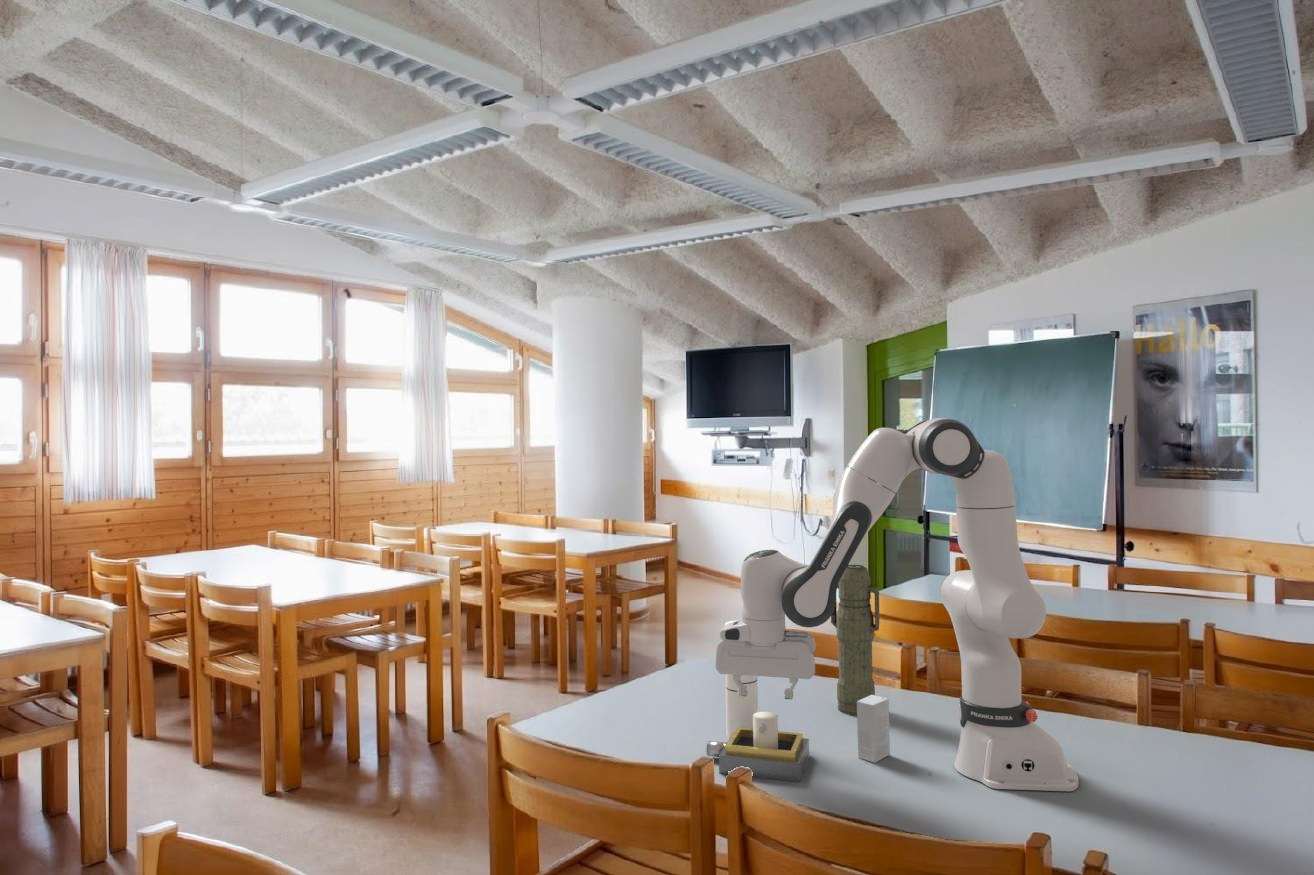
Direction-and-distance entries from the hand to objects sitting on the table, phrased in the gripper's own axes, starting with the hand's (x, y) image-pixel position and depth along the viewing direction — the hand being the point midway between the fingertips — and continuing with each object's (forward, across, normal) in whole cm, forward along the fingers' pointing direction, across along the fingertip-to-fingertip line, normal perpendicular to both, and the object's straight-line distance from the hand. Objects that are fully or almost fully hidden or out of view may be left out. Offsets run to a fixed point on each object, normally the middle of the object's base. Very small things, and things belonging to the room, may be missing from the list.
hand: (766, 697), depth 174 cm
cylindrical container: (+14, +9, -15) cm, 22 cm away
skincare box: (+14, -20, -10) cm, 27 cm away
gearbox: (+14, +3, 0) cm, 14 cm away
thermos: (+15, -14, -39) cm, 44 cm away
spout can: (+14, 0, 0) cm, 14 cm away
